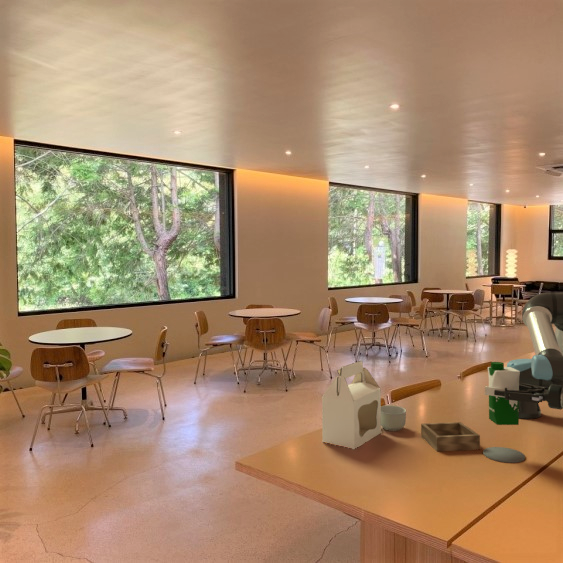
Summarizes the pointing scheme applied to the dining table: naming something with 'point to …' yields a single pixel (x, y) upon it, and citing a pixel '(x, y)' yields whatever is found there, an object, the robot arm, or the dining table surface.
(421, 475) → the dining table surface
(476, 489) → the dining table surface
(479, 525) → the dining table surface
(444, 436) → the walnut crate
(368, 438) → the gable box
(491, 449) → the grey coaster
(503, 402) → the soya milk
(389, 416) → the teacup
